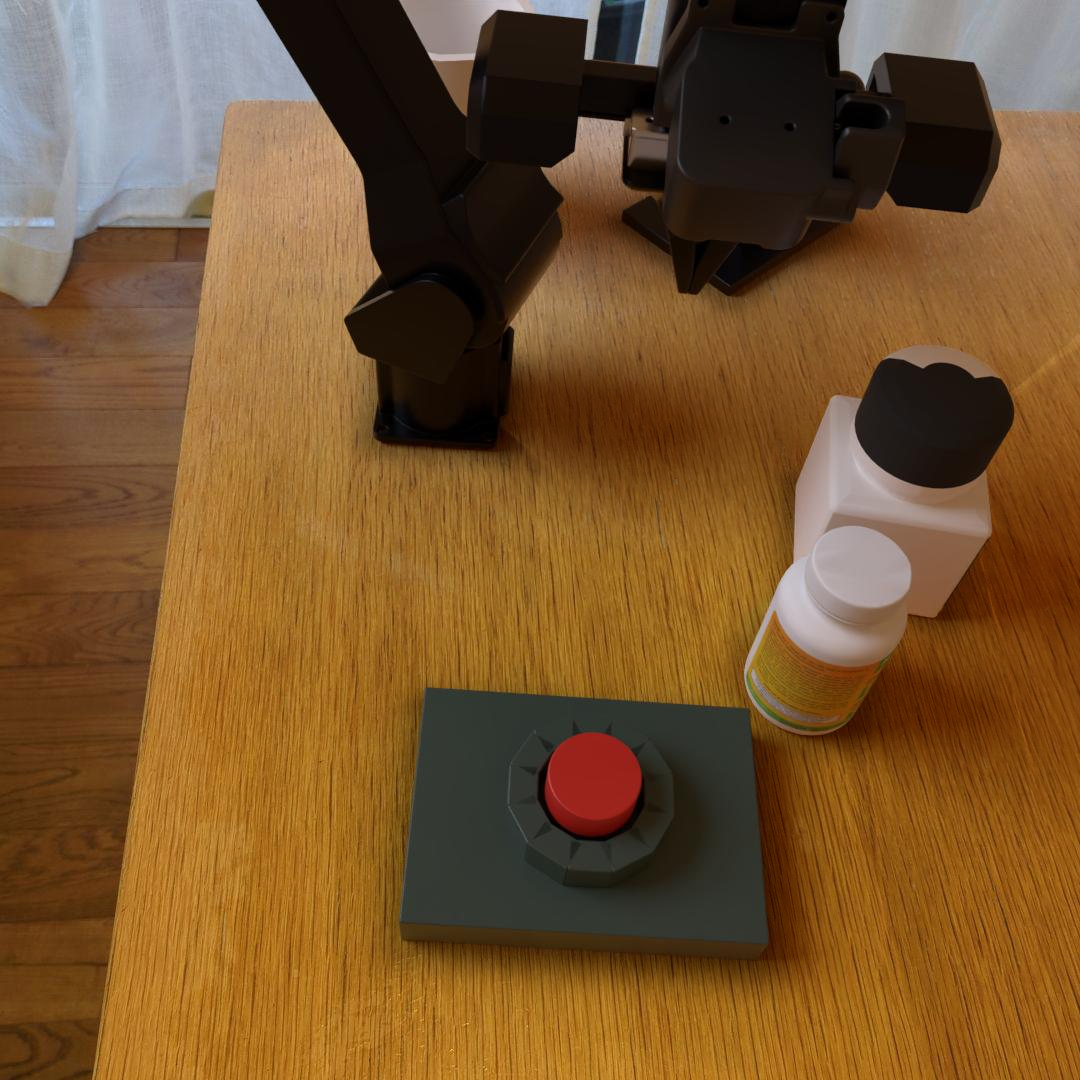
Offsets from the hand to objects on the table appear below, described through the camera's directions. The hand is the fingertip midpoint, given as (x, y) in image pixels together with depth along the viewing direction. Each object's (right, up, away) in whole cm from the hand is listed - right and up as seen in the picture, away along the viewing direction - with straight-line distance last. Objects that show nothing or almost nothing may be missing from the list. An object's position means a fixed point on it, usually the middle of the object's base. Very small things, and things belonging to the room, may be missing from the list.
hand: (687, 287), depth 48 cm
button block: (-5, -23, -1) cm, 23 cm away
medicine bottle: (+10, -11, +9) cm, 18 cm away
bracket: (+6, +9, +23) cm, 26 cm away
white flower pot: (-12, +9, +22) cm, 27 cm away
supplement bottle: (+6, -18, +4) cm, 19 cm away
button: (-4, -21, -4) cm, 21 cm away
